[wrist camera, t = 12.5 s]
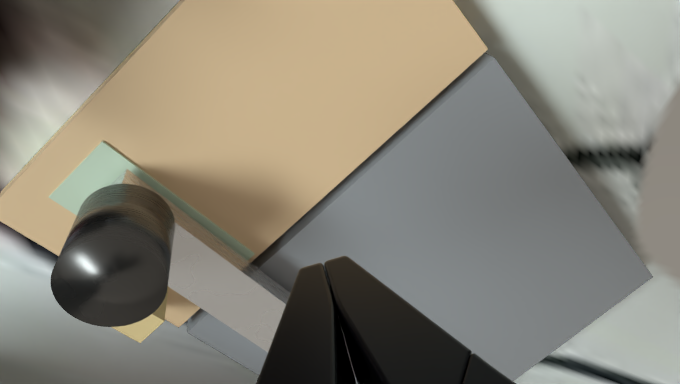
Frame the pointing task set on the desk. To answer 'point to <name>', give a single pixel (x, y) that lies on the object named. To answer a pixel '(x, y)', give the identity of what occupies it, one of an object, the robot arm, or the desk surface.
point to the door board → (345, 168)
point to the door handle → (157, 265)
